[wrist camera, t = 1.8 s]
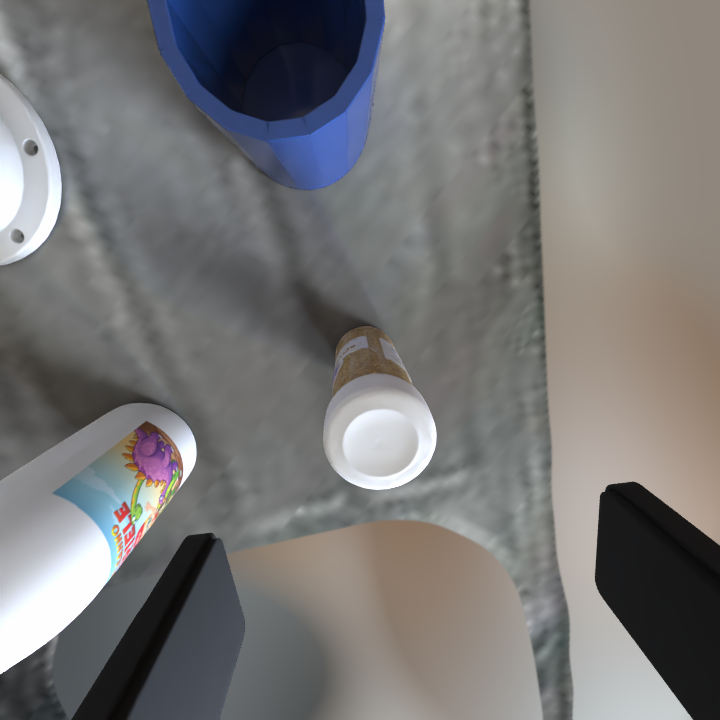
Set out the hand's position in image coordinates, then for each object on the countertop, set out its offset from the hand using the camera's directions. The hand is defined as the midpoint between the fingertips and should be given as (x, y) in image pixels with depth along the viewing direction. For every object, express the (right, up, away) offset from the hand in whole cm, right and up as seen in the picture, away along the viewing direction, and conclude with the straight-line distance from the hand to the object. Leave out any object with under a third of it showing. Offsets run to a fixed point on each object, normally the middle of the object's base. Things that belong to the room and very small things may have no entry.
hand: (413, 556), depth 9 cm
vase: (-5, +20, +14) cm, 25 cm away
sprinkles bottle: (-1, +5, +18) cm, 19 cm away
